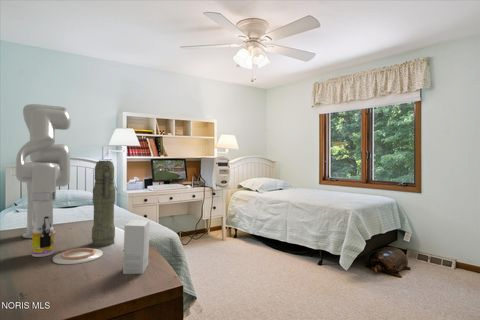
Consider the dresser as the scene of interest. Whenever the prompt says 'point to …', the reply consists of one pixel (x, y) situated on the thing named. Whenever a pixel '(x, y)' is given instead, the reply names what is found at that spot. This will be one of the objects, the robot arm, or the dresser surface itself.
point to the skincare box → (136, 247)
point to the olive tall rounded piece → (103, 204)
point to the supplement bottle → (36, 243)
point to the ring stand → (77, 256)
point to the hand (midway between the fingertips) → (42, 244)
